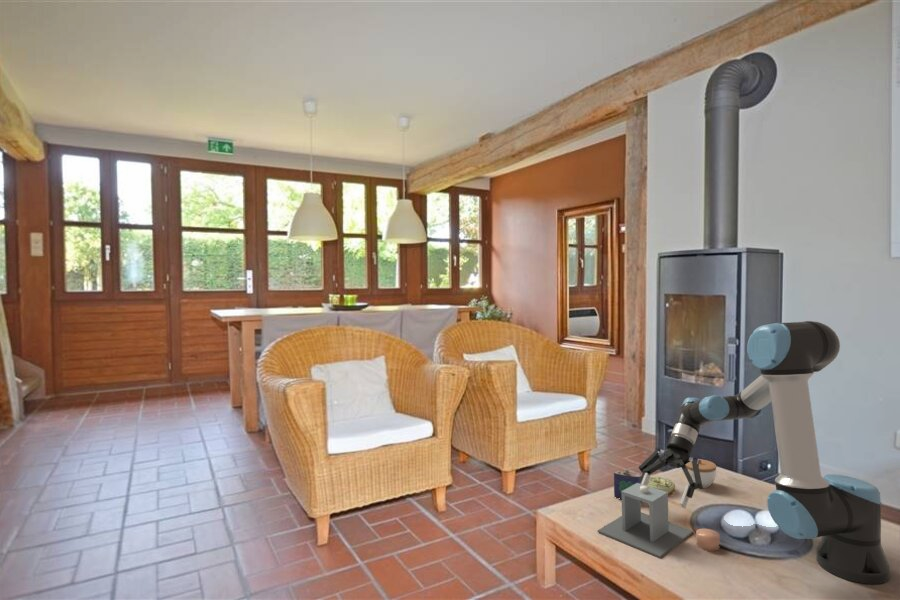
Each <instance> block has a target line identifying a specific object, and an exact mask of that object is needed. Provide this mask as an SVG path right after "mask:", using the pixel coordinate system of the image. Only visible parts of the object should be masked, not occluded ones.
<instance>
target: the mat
mask: <svg viewBox="0 0 900 600" xmlns="http://www.w3.org/2000/svg"><path fill="white" fill-rule="evenodd" d="M668 525H669V531H668V532H667V533H665V534H664V535H663V536H661V537H660V538H658V539H657V540H655V541H654V542H652V541H650V516H649V514H647V513H644V512H642V511H641V521H640V522H639V523H637V524H636V525H634V526H632V527H631V528H629V529H628V530H626V531H624V530H622V515H620V516H619V517H618V518H616V519H614V520H612V521H610V522H609V523H607V524H606V525H604V526H602V527H601V528H599V529H598V530H597V533H598V532H599V533H598V534H601V535H603V536H606V537H608V538H609V539H613V540H615V541H617V542H620V543H622V544H625V545H627V546H629V547H632V548H635V549H637V550H639V551H642V552H644V553H647V554H648V555H652V556H653V557H656V558H658V559H661V558H662V557H664V556H665V555H666V554H668V553H669V552H670V551H672V550H673V549H674V548H676V547H677V546H679V544H680V543H682V542H684V541H685V540H686V539H687V538H688V537H690V536H691V535H692V534H694V530H692V529H690V528H687V527H684V526H681V525H679V524H675V523H673V522H671V521H670V522H669V521H668Z"/></svg>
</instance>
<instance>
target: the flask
mask: <svg viewBox="0 0 900 600" xmlns="http://www.w3.org/2000/svg"><path fill="white" fill-rule="evenodd" d="M630 470H631V469H629V468H624V471H622V470H617V471H614V472H613V494H614V495H613V496H614V498H615V497H616V498H615V499H617V498H620V499H619V500H621V499H622V495H621V491H623V490H625V489H627V488H628V487H630V486H632V485H634V484H636V483H639V484H641V482H640V479H641V476H642V474H638V473H636V474H635V473H630Z"/></svg>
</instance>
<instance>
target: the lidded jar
mask: <svg viewBox="0 0 900 600" xmlns="http://www.w3.org/2000/svg"><path fill="white" fill-rule="evenodd" d="M698 460H699V472H700V476H701V481H702V486H703V488H702V489H704V488H705V489H707V488H709V487H710V486H711V485H712V484H713V483H714V482H715V480H716V477H717V465H716V463H714V462H713V461H710V460H707V459H701V458H698ZM685 465H686V467H687V469H688V471H689V473H690V475H691V478H692V480H693V482H694V483H696V481H695V476H694V471H693V466H692V463H691V461H690V462H688V463H687V464H685Z"/></svg>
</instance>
